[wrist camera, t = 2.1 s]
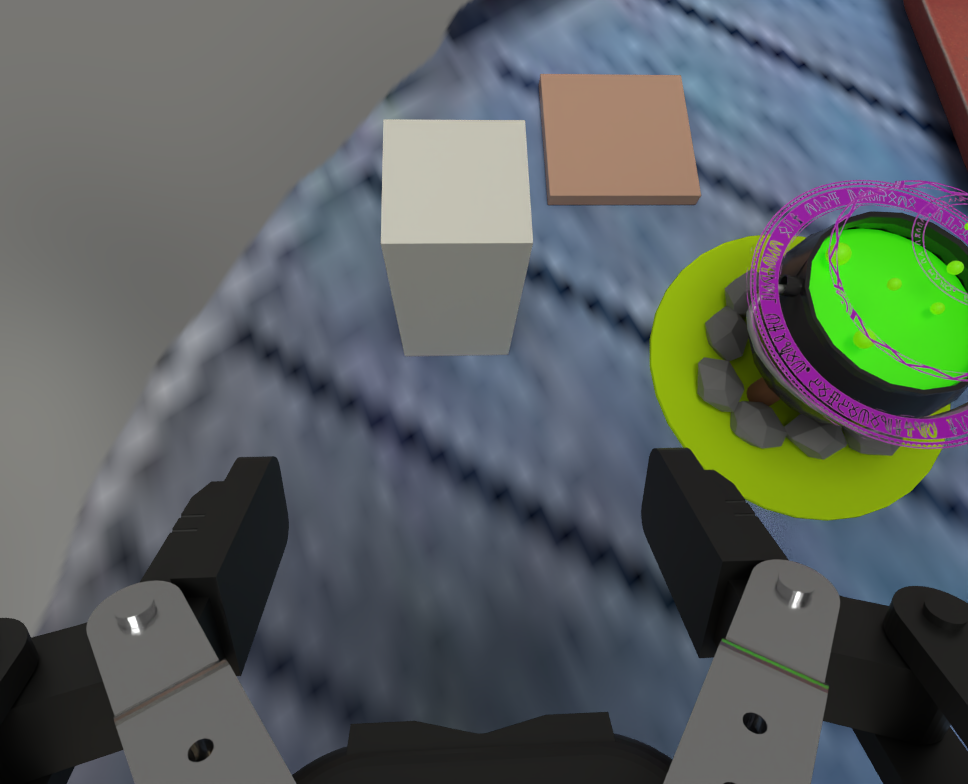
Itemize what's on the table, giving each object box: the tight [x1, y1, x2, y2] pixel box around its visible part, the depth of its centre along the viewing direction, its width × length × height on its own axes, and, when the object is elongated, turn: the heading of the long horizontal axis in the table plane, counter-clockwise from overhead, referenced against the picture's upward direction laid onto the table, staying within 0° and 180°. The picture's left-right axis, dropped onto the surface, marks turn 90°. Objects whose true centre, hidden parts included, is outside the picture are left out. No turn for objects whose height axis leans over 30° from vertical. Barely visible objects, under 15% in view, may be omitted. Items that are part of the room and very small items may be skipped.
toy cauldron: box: [650, 180, 968, 521], centre depth 25 cm, size 15×15×11 cm
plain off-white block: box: [381, 120, 533, 356], centre depth 26 cm, size 5×5×10 cm
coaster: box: [539, 74, 701, 205], centre depth 33 cm, size 8×8×1 cm
